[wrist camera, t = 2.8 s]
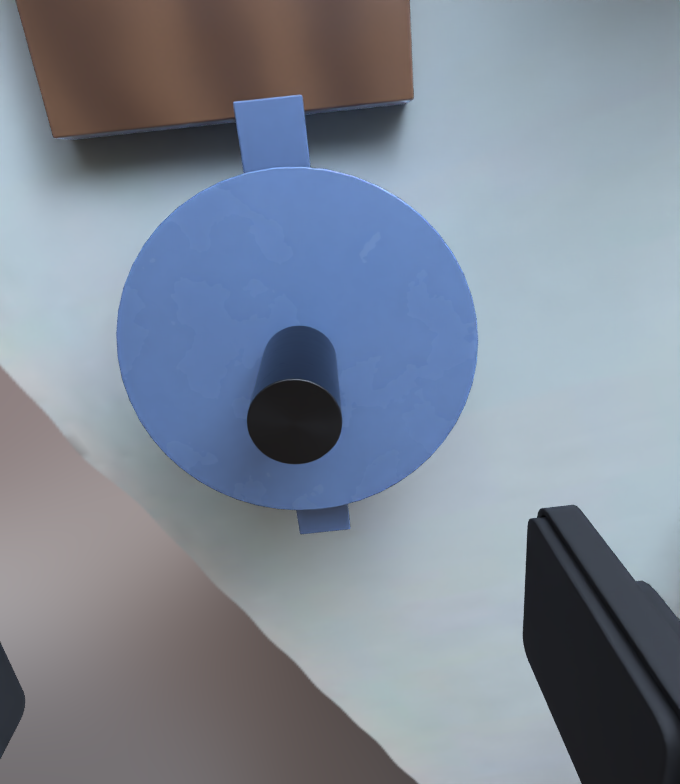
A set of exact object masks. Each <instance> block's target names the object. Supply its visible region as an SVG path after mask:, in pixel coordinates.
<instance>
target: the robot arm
mask: <svg viewBox="0 0 680 784" xmlns="http://www.w3.org/2000/svg"><path fill="white" fill-rule="evenodd" d="M523 643H524V648H525V652H526V656H527V658H528V661H529V663H530V666H531V668H532V670H533V672H534V675H535V677H536V679H537V682H538V684H539V686H540V689H541V691H542V693H543V695H544V698H545V700H546V702H547V705H548V707H549V709H550V712H551V714H552V716H553V718H554V721H555V723H556V725H557V728H558V730H559V732H560V735H561V737H562V739H563V741H564V744H565V746H566V748H567V751H568V753H569V755H570V758H571V760H572V762H573V764H574V767H575V769H576V771H577V774H578V776H579V778H580V781H581V783H582V784H680V620H679V619H678V618H677V617H676V615H675V614H674V613H673V612H672V610H671V609H670V608H669V607H668V605H667V604H666V603H665V602H664V600H663V599H662V598H661V597H660V595H659V594H658V593H657V592H656V591H655V590H654V589H653V588H652V587H651V586H650V585H649V584H647V583H646V582H644V581H635V580H634V579H633V577H632V576H631V575H630V573H629V572H628V571H627V569H626V568H625V567H624V566H623V564H622V563H621V562H620V560H619V559H618V558H617V556H616V555H615V554H614V553H613V551H612V550H611V549H610V547H609V546H608V545H607V543H606V542H605V541H604V540H603V538H602V537H601V536H600V534H599V533H598V532H597V530H596V529H595V528H594V527H593V525H592V524H591V523H590V521H589V520H588V519H587V517H586V516H585V515H584V514H583V512H582V511H581V510H580V509H579V508H578V507H577V506H575V505H568V506H559V507H550V508H542V509H540V510H539V512H538V516H537V518H532V519H529V521H528V530H527V552H526V575H525V597H524V620H523ZM24 708H25V695H24V692H23V690H22V688H21V686H20V683H19V681H18V679H17V677H16V675H15V673H14V671H13V668H12V666H11V664H10V662H9V660H8V658H7V655H6V653H5V651H4V649H3V647H2V645H1V643H0V758H1V757H2V755H3V753H4V751H5V749H6V747H7V745H8V743H9V741H10V739H11V737H12V735H13V733H14V731H15V729H16V728H17V726H18V724H19V722H20V720H21V717H22V715H23V712H24Z"/></svg>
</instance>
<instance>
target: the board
mask: <svg viewBox="0 0 680 784" xmlns="http://www.w3.org/2000/svg"><path fill="white" fill-rule="evenodd" d="M15 1H16V4H17V8H18V12H19V15H20V19H21V23H22V26H23V30H24V33H25V37H26V41H27V44H28V48H29V52H30V55H31V59H32V62H33V66H34V70H35V73H36V77H37V81H38V84H39V88H40V91H41V95H42V99H43V102H44V106H45V110H46V113H47V117H48V120H49V124H50V128H51V131H52V135H53V137H54V138H56V139H68V140H76V139H85V138H94V137H104V136H113V135H122V134H132V133H141V132H150V131H159V130H169V129H178V128H187V127H197V126H206V125H215V124H224V123H234V122H236V120H235V114H234V108H233V102H236V101H245V100H255V99H264V98H273V97H283V96H292V95H302V97H303V103H304V112H305V115H308V114H317V113H327V112H336V111H345V110H355V109H364V108H373V107H382V106H392V105H401V104H406V103H408V102H410V101H411V100H413V98H414V90H413V66H412V41H411V17H410V0H15Z"/></svg>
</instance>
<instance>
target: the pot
mask: <svg viewBox="0 0 680 784" xmlns="http://www.w3.org/2000/svg"><path fill="white" fill-rule="evenodd" d="M233 108H234V114H235V120H236V127H237V133H238V140H239V146H240V153H241V159H242V165H243V172H244V173H247V172H252V171H258V170H263V169H269V168H274V167H300V166H302V167H310V158H309V148H308V139H307V130H306V121H305V112H304V103H303V97H302V95H292V96H283V97H273V98H264V99H255V100H245V101H236V102H233ZM296 512H297V518H298V525H299V531H300V534H309V533H318V532H328V531H337V530H347V529H350V518H349V509H348V504H345V505H342V506H337V507H330V508H324V509H313V510H296Z"/></svg>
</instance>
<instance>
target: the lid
mask: <svg viewBox="0 0 680 784" xmlns="http://www.w3.org/2000/svg"><path fill="white" fill-rule="evenodd" d="M116 337H117V353H118V361H119V366H120V371H121V376H122V380H123V383H124V386H125V389H126V391H127V394H128V397H129V400H130V402H131V404H132V406H133V408H134V410H135V412H136V414H137V416H138V418H139V420H140V422H141V423H142V425H143V426H144V428H145V429H146V431H147V432H148V433H149V435H150V436H151V438H152V439H153V440H154V441H155V443H156V444H157V445H158V446H159V447H160V448H161V450H162V451H163V452H164V453H165V454H166V455H167V456H168V457H169V458H170V459H171V460H172V461H174V462H175V463H176V464H177V465H178V466H179V467H180V468H181V469H183V470H184V471H185V472H187V473H188V474H190V475H191V476H192V477H194V478H195V479H197V480H198V481H200V482H201V483H203V484H205V485H207V486H209V487H210V488H212V489H214V490H216V491H218V492H220V493H223V494H225V495H227V496H230V497H232V498H235V499H237V500H240V501H244V502H247V503H251V504H254V505H258V506H264V507H270V508H276V509H287V510H313V509H324V508H330V507H337V506H342V505H345V504H349V503H353V502H356V501H360V500H362V499H365V498H367V497H370V496H372V495H375V494H377V493H380V492H382V491H383V490H385V489H387V488H389V487H391V486H393V485H394V484H396V483H398V482H400V481H401V480H402V479H404V478H405V477H407V476H408V475H409V474H411V473H412V472H414V471H415V470H416V469H417V468H418V467H419V466H421V465H422V464H423V463H424V462H425V461H426V460H427V459H428V458H429V457H430V456H431V455H432V454H433V453H434V452H435V451H436V450H437V448H438V447H439V446H440V445H441V444H442V443H443V442H444V440H445V439H446V437H447V436H448V434H449V433H450V431H451V430H452V428H453V427H454V425H455V424H456V422H457V420H458V418H459V416H460V414H461V412H462V410H463V408H464V406H465V404H466V401H467V398H468V395H469V392H470V389H471V386H472V383H473V378H474V373H475V368H476V364H477V350H478V332H477V318H476V314H475V309H474V304H473V299H472V295H471V292H470V290H469V287H468V284H467V281H466V279H465V276H464V273H463V271H462V270H461V268H460V266H459V264H458V262H457V260H456V258H455V256H454V254H453V253H452V251H451V250H450V248H449V247H448V246H447V244H446V243H445V242H444V240H443V239H442V237H441V236H440V235H439V233H438V232H437V231H436V230H435V229H434V228H433V227H432V226H431V225H430V224H429V223H428V222H427V221H426V220H425V219H424V218H423V217H422V215H420V214H419V213H418V212H417V211H415V210H414V209H413V208H412V207H410V206H409V205H408V204H406V203H405V202H404V201H403V200H401V199H400V198H398V197H396V196H395V195H393V194H391V193H390V192H388V191H386V190H384V189H383V188H381V187H379V186H377V185H375V184H372V183H370V182H367V181H365V180H362V179H360V178H357V177H355V176H352V175H348V174H344V173H340V172H336V171H332V170H328V169H321V168H311V167H302V166H300V167H274V168H269V169H263V170H258V171H252V172H247V173H244V174H241V175H238V176H235V177H232V178H229V179H226V180H223V181H221V182H219V183H217V184H215V185H213V186H211V187H209V188H207V189H205V190H203V191H201V192H199V193H198V194H196V195H195V196H193V197H192V198H190V199H189V200H188V201H186V202H185V203H183V204H182V205H181V206H179V207H178V208H177V209H176V210H175V211H174V212H172V213H171V214H170V215H169V216H168V217H167V218H166V219H165V220H164V221H163V222H162V223H161V224H160V225H159V226H158V227H157V229H156V230H155V231H154V232H153V234H152V235H151V236H150V238H149V239H148V240H147V241H146V243H145V244H144V246H143V247H142V249H141V251H140V253H139V254H138V256H137V258H136V260H135V261H134V263H133V265H132V267H131V270H130V272H129V275H128V277H127V280H126V283H125V285H124V288H123V292H122V296H121V301H120V305H119V309H118V319H117V332H116Z"/></svg>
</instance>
